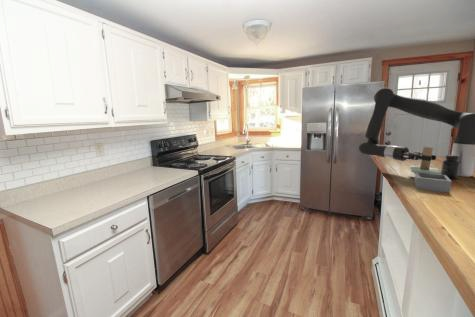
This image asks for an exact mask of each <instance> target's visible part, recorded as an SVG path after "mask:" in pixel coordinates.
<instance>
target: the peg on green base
mask: <svg viewBox="0 0 475 317" xmlns="http://www.w3.org/2000/svg"><path fill="white" fill-rule="evenodd" d="M433 149H434V147H431V146H423V148H422V155H425V156H432V155H433ZM431 161H432V160H431ZM431 161H427V160H420V166H418V165H410V166H409V168H410V171H411V173H413V174H414V175H415V173H416V172H419V173H429V174H439V175H441V170H439V169H438V168H436V167H431Z"/></svg>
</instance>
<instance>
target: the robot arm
mask: <svg viewBox="0 0 475 317" xmlns="http://www.w3.org/2000/svg"><path fill="white" fill-rule="evenodd" d="M373 100H374V102H375V104H374V108H373V112H372V115H371V118H370V120H369V122H368V125H367V128H366V132H365V135H364V138H365V139H367V142H363V143H360V144H359V146H358V152H360V153H361V154H363V155H368V156H369V155H370V156H377V157H381V158H387V159H389V160H395V161H400V162H405V161H406V160H413V161H421V160H427V161H436V160H437V155H433V154H432V156H425V155H422V153H423V151H415V150H411V151H410V150H409V148H408V147H407V146H399V145H388V144H379V136H380V133H381V130H382V126H383V122H384V119H385V116H386V113H387V111H388V108H393V109H397V110H400V111H401V112H405V113H406V114H410V115H413V116H415V117H419V118H421V119H422V118H423V119H427V120H431V121H437V122H440V123H444V124H447V125H449V126H452V127H454V128H457V129H458V130H457V134H456V136H455V137H454V139H453V144H452V148H451V150H452V151H451V154H450V155H455V156H459V158H458V161H459V162H460V168H459V174H458V177H464V178H465V177H466V178H468V177H472V176H474V175H475V174H474V173H475V112H463V111H458V110H453V109H450V108H447V107H445V106H443V105H441V104H440V103H436V102H433V101H431V100H427V99H425V98H423V99H422V98H418V97H417V98H416V97H410V96H409V97H408V96H403V95H399V94H396V93H394V91H393V90H392V88H389V87H382V88H381V89H379V90H377V91H376V93H375V94H374V96H373Z"/></svg>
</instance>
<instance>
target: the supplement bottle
mask: <svg viewBox="0 0 475 317" xmlns="http://www.w3.org/2000/svg"><path fill="white" fill-rule="evenodd" d="M458 158H459V156H455V155H451V154H446V155H445V158H444V160H442V162H441V167H440V173H441V175H446V176H447V177H448V178H449V179H450V180H451V181H452V180H453V181H454V180H455V181H456V180H457V179H458V177H459V176H458V174H459V168H460V162H459V161H458Z"/></svg>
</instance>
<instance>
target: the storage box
mask: <svg viewBox="0 0 475 317" xmlns="http://www.w3.org/2000/svg"><path fill="white" fill-rule="evenodd" d="M413 182H414V186H415V188H416V189H418V190H424V191H425V190H426V191H432V192H438V193H440V192H441V193H448V194H449V193H450V192H451V185H452V180H450V179H449V178H448V177H447V176H446V175H439V174H429V173H419V172H416V173H415V174H414V181H413Z"/></svg>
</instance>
